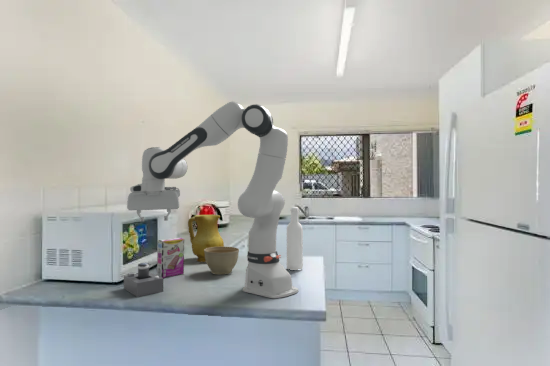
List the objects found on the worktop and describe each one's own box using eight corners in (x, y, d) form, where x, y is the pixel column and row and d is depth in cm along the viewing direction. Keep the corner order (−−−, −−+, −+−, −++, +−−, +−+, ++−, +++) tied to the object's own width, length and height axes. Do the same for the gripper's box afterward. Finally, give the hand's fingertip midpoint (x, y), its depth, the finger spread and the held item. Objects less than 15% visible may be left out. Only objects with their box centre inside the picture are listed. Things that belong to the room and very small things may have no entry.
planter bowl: (213, 279, 155) (213, 253, 155) (198, 271, 168) (198, 248, 168) (245, 273, 164) (245, 249, 164) (228, 267, 177) (228, 245, 177)
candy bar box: (162, 278, 155) (162, 241, 155) (156, 276, 159) (156, 239, 159) (184, 274, 163) (184, 238, 163) (178, 272, 167) (178, 237, 167)
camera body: (163, 291, 137) (163, 275, 137) (137, 296, 130) (137, 280, 130) (148, 283, 147) (148, 269, 147) (123, 288, 140) (123, 273, 140)
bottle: (305, 268, 174) (305, 207, 174) (298, 271, 167) (298, 207, 167) (290, 266, 178) (290, 206, 178) (283, 269, 171) (283, 207, 171)
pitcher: (204, 264, 182) (204, 215, 183) (184, 260, 195) (184, 214, 196) (230, 260, 194) (230, 214, 196) (210, 257, 207) (209, 214, 209)
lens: (150, 283, 141) (150, 262, 141) (146, 286, 137) (146, 265, 136) (140, 282, 141) (140, 262, 141) (136, 286, 137) (136, 264, 137)
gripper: (180, 186, 151) (180, 219, 151) (128, 187, 147) (129, 221, 147) (179, 186, 145) (180, 220, 145) (126, 187, 141) (126, 222, 141)
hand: (154, 220), depth 146 cm, fingers open, 8 cm apart
